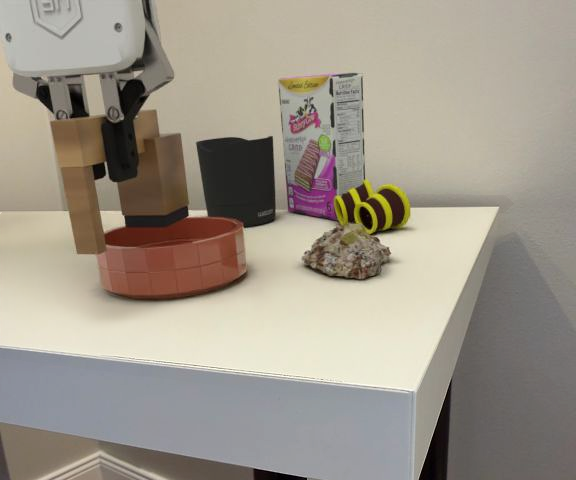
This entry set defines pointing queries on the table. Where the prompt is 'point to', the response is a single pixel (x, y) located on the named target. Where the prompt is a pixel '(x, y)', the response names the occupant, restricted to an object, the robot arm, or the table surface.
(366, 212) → the opera glasses
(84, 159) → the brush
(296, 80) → the candy bar box
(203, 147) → the pen holder
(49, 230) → the table surface
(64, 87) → the robot arm
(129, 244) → the bowl
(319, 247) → the mineral rock
